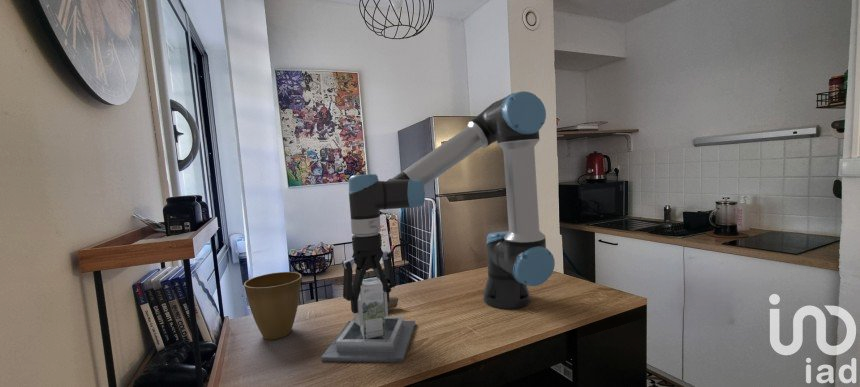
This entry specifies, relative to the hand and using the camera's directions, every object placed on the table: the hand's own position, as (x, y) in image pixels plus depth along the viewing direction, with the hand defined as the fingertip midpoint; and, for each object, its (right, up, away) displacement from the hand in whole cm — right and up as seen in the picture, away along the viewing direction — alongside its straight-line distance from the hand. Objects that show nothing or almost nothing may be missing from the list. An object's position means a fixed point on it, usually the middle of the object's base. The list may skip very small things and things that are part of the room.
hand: (371, 319), depth 93 cm
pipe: (-3, -5, +19) cm, 20 cm away
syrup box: (0, -4, 0) cm, 4 cm away
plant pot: (-28, -7, +8) cm, 30 cm away
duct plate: (0, -6, 0) cm, 6 cm away
